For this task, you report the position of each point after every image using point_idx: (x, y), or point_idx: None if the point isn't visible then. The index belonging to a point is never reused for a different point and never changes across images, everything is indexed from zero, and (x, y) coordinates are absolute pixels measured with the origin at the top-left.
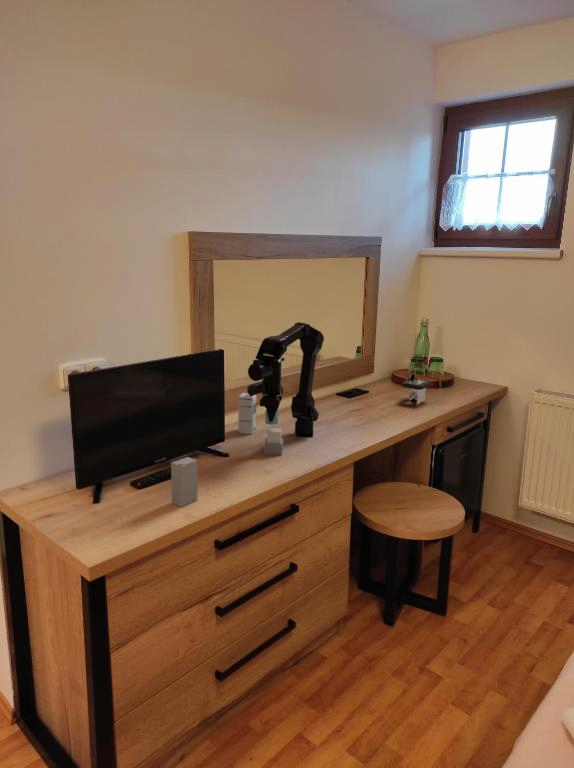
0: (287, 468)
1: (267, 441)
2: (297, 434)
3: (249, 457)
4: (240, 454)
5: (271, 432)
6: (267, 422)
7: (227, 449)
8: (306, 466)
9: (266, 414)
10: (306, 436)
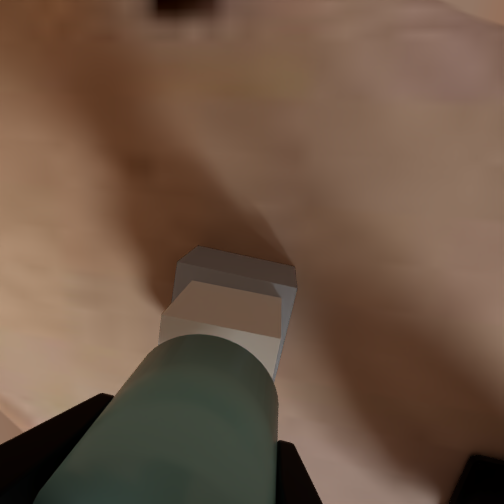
0: (15, 330)
1: (188, 284)
2: (483, 468)
3: (144, 154)
4: (191, 99)
5: (160, 343)
6: (142, 362)
7: (286, 4)
8: (47, 410)
9: (97, 430)
10: (450, 500)
